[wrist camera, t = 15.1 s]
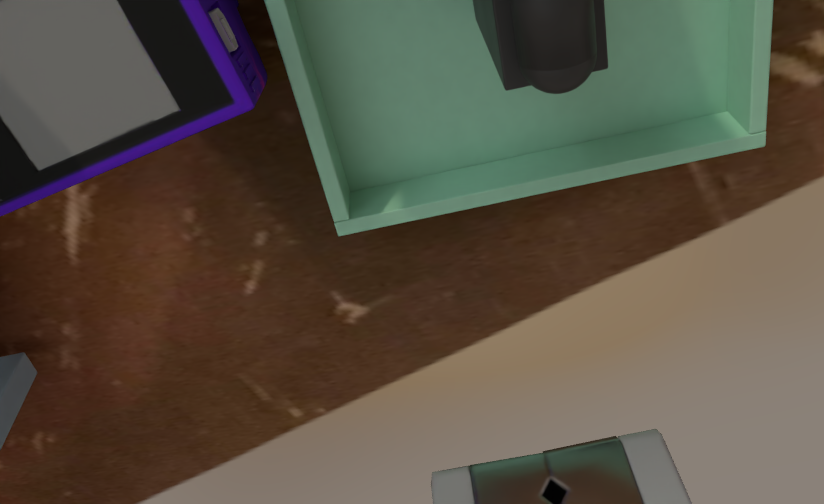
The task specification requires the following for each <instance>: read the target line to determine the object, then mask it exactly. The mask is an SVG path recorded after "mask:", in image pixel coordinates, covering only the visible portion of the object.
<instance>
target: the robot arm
mask: <svg viewBox="0 0 824 504" xmlns="http://www.w3.org/2000/svg"><path fill="white" fill-rule="evenodd" d="M431 487H432V497H433V504H692V502H691V500H690V498H689V496H688V493H687V491H686V489H685V487H684V484H683V482H682V480H681V477H680V475H679V473H678V471H677V468H676V466H675V464H674V461H673V460H672V457H671V455H670V452H669V450H668V448H667V445H666V443H665V441H664V439H663V437H662V434H661V433H659V432H658V430H657V429H653V430H648V431H643V432H638V433H633V434H627V435H623V436H618V438H617V437H616V436H614V437H609V438H604V439H600V440H595V441H590V442H585V443H581V444H576V445H571V446H566V447H561V448H557V449H552V450H547V451H543V453H539V454H533V455H527V456H522V457H515V458H510V459H504V460H498V461H492V462H486V463H480V464H474V465H470V466H464V467H459V468H454V469H448V470H442V471H438V472H433V473H432V480H431Z"/></svg>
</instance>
